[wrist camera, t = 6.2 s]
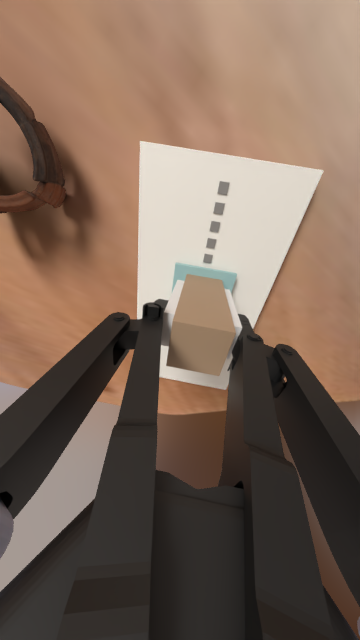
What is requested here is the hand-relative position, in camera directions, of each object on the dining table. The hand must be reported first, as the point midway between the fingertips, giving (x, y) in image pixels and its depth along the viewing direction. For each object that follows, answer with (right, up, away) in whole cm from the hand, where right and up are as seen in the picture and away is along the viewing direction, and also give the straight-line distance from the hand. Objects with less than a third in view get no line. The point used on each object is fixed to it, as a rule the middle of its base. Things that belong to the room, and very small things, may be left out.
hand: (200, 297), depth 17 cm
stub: (0, +1, +1) cm, 2 cm away
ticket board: (0, 0, +4) cm, 4 cm away
